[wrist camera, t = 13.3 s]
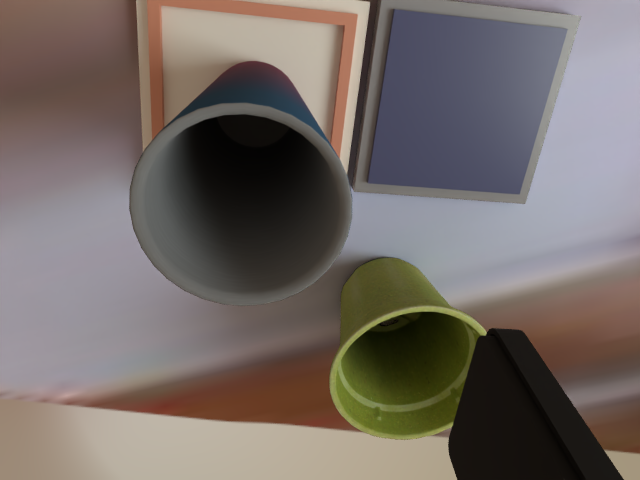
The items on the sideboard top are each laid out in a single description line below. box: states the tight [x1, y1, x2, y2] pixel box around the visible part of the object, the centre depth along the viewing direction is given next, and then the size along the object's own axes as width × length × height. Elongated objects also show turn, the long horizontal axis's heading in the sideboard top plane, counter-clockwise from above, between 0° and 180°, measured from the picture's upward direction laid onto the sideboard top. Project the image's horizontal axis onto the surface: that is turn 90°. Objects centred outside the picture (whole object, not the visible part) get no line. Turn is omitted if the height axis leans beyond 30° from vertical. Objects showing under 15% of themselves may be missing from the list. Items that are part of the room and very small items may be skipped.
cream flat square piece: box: [136, 0, 370, 174], centre depth 29 cm, size 12×12×1 cm
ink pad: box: [352, 0, 581, 204], centre depth 30 cm, size 11×11×1 cm
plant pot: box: [329, 258, 487, 440], centre depth 33 cm, size 9×9×9 cm
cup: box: [129, 61, 352, 306], centre depth 23 cm, size 7×7×15 cm
